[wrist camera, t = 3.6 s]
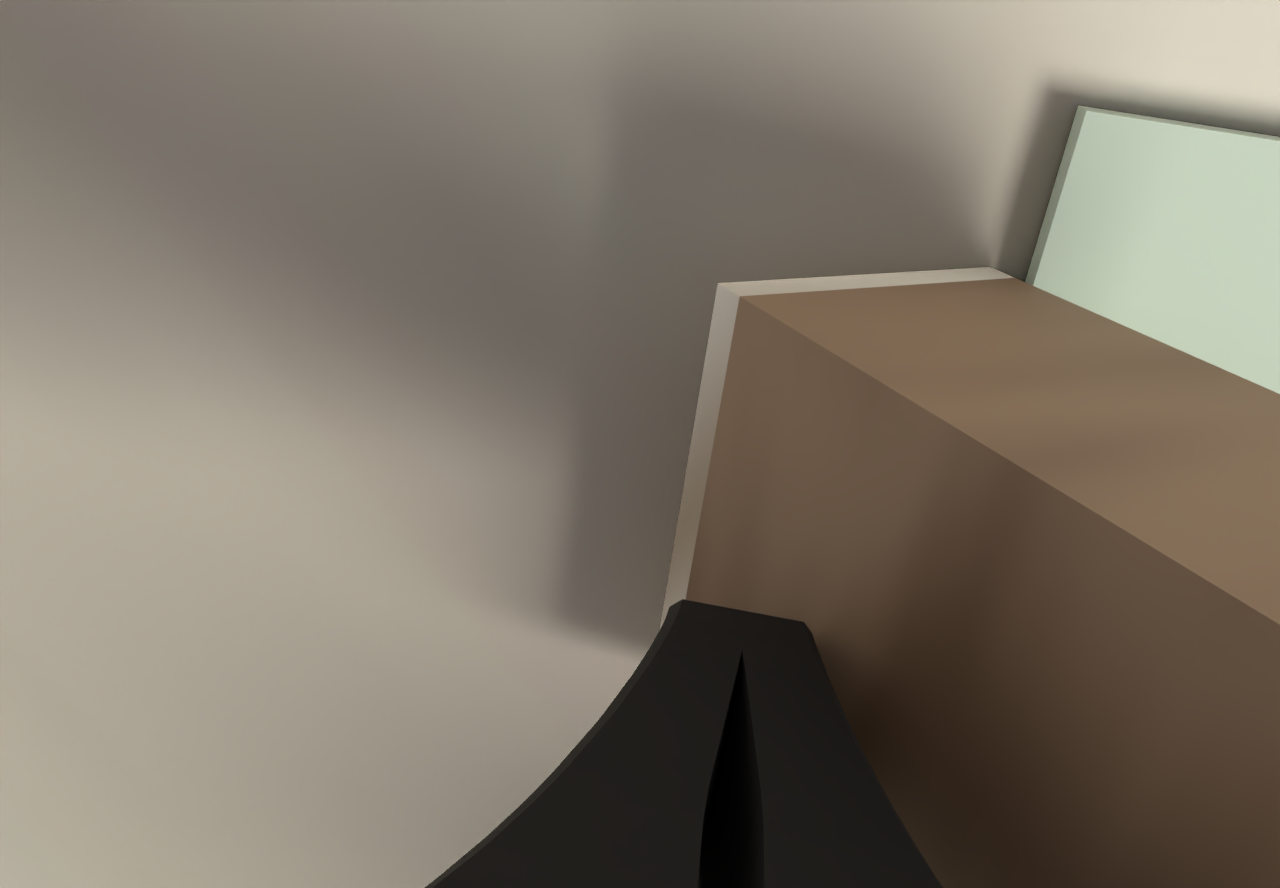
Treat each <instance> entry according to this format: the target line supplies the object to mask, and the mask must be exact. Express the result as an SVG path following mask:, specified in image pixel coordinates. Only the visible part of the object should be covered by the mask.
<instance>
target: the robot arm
mask: <svg viewBox="0 0 1280 888" xmlns="http://www.w3.org/2000/svg"><path fill="white" fill-rule="evenodd" d="M425 888H943V887H942V885H941V884H940V882H939V881H938V879H937V878H936V876H935V875H934V873H933V871H932V870H931V868H930V867H929V865H928V864H927V862H926V861H925V859H924V857H923V856H922V854H921V853H920V851H919V850H918V848H917V846H916V845H915V843H914V841H913V840H912V838H911V836H910V835H909V833H908V831H907V830H906V828H905V826H904V825H903V823H902V821H901V820H900V818H899V816H898V815H897V813H896V811H895V810H894V808H893V806H892V804H891V802H890V801H889V799H888V797H887V795H886V794H885V792H884V790H883V788H882V786H881V785H880V783H879V781H878V779H877V777H876V775H875V773H874V771H873V769H872V767H871V765H870V763H869V762H868V760H867V758H866V756H865V754H864V752H863V750H862V748H861V746H860V744H859V742H858V740H857V738H856V736H855V734H854V732H853V730H852V728H851V726H850V724H849V722H848V720H847V718H846V716H845V713H844V711H843V709H842V707H841V704H840V702H839V700H838V698H837V696H836V693H835V691H834V689H833V687H832V684H831V682H830V679H829V677H828V675H827V672H826V670H825V667H824V665H823V662H822V660H821V657H820V654H819V651H818V649H817V646H816V643H815V640H814V637H813V634H812V633H811V631H810V630H809V628H808V627H807V625H806V624H805V623H804V622H802V621H797V620H791V619H786V618H781V617H775V616H770V615H765V614H759V613H754V612H749V611H743V610H738V609H732V608H727V607H722V606H716V605H711V604H706V603H700V602H695V601H690V600H684V599H682V600H680V601H678V602H677V603H675V604H673V605H671V606H670V607H669V609H668V612H667V615H666V618H665V620H664V623H663V625H662V627H661V629H660V631H659V633H658V635H657V637H656V638H655V640H654V642H653V644H652V645H651V647H650V649H649V650H648V652H647V653H646V655H645V657H644V658H643V660H642V661H641V663H640V664H639V666H638V667H637V669H636V670H635V672H634V673H633V675H632V676H631V678H630V679H629V680H628V682H627V683H626V684H625V686H624V687H623V688H622V690H621V691H620V692H619V694H618V695H617V696H616V698H615V699H614V700H613V702H612V703H611V704H610V706H609V707H608V709H607V710H606V711H605V713H604V714H603V715H602V716H601V718H600V719H599V720H598V721H597V723H596V724H595V725H594V726H593V727H592V729H591V730H590V731H589V732H588V733H587V734H586V735H585V737H584V738H583V739H582V740H581V741H580V742H579V743H578V744H577V746H576V747H575V748H574V749H573V750H572V751H571V752H570V754H569V755H568V756H567V757H566V758H565V759H564V760H563V762H562V763H561V764H560V765H559V766H558V767H557V768H556V770H555V771H554V772H553V773H552V774H551V775H550V776H549V777H548V778H547V779H546V780H545V781H544V782H543V783H542V784H541V785H540V786H539V787H538V788H537V789H536V790H535V791H534V792H533V793H532V794H531V795H530V796H529V797H528V798H527V799H526V800H525V801H524V802H523V803H522V804H521V805H520V806H519V807H518V808H517V809H516V810H515V811H514V812H513V813H512V814H511V815H510V816H509V817H507V818H506V819H505V820H504V821H503V822H502V823H501V824H500V825H499V826H498V827H497V828H496V829H495V830H493V831H492V832H491V833H490V834H489V835H488V836H487V837H486V838H485V839H483V840H482V841H481V842H480V843H479V844H477V845H476V846H475V847H474V848H473V849H471V850H470V851H469V852H468V853H467V854H465V855H464V856H463V857H462V858H461V859H459V860H458V861H457V862H456V863H455V864H453V865H452V866H451V867H450V868H449V869H447V870H446V871H445V872H444V873H443V874H441V875H440V876H439V877H438V878H437V879H435V880H434V881H433V882H432V883H430V884H429V885H428V886H426V887H425Z"/></svg>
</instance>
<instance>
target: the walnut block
mask: <svg viewBox="0 0 1280 888" xmlns="http://www.w3.org/2000/svg"><path fill="white" fill-rule="evenodd" d="M682 599H684V600H690V601H695V602H700V603H706V604H711V605H716V606H722V607H727V608H732V609H738V610H743V611H749V612H754V613H759V614H765V615H770V616H775V617H781V618H786V619H791V620H797V621H802V622H804V623H805V624H806V625H807V627H808V628H809V630H810V631H811V633H812V634H813V637H814V640H815V643H816V646H817V649H818V651H819V654H820V657H821V660H822V662H823V665H824V667H825V670H826V672H827V675H828V677H829V679H830V682H831V684H832V687H833V689H834V691H835V693H836V696H837V698H838V700H839V702H840V704H841V707H842V709H843V711H844V713H845V716H846V718H847V720H848V722H849V724H850V726H851V728H852V730H853V732H854V734H855V736H856V738H857V740H858V742H859V744H860V746H861V748H862V750H863V752H864V754H865V756H866V758H867V760H868V762H869V763H870V765H871V767H872V769H873V771H874V773H875V775H876V777H877V779H878V781H879V783H880V785H881V786H882V788H883V790H884V792H885V794H886V795H887V797H888V799H889V801H890V802H891V804H892V806H893V808H894V810H895V811H896V813H897V815H898V816H899V818H900V820H901V821H902V823H903V825H904V826H905V828H906V830H907V831H908V833H909V835H910V836H911V838H912V840H913V841H914V843H915V845H916V846H917V848H918V850H919V851H920V853H921V854H922V856H923V857H924V859H925V861H926V862H927V864H928V865H929V867H930V868H931V870H932V871H933V873H934V875H935V876H936V878H937V879H938V881H939V882H940V884H941V885H942V887H943V888H1280V394H1279V393H1276V392H1274V391H1272V390H1269V389H1267V388H1265V387H1263V386H1260V385H1258V384H1256V383H1253V382H1251V381H1249V380H1247V379H1244V378H1242V377H1240V376H1238V375H1235V374H1233V373H1231V372H1228V371H1226V370H1224V369H1222V368H1219V367H1217V366H1215V365H1212V364H1210V363H1208V362H1206V361H1203V360H1201V359H1199V358H1197V357H1194V356H1192V355H1190V354H1187V353H1185V352H1183V351H1181V350H1178V349H1176V348H1174V347H1171V346H1169V345H1167V344H1165V343H1162V342H1160V341H1158V340H1156V339H1153V338H1151V337H1149V336H1146V335H1144V334H1142V333H1140V332H1137V331H1135V330H1133V329H1130V328H1128V327H1126V326H1124V325H1121V324H1119V323H1117V322H1115V321H1112V320H1110V319H1108V318H1105V317H1103V316H1101V315H1099V314H1096V313H1094V312H1092V311H1089V310H1087V309H1085V308H1083V307H1080V306H1078V305H1076V304H1074V303H1071V302H1069V301H1067V300H1064V299H1062V298H1060V297H1058V296H1055V295H1053V294H1051V293H1048V292H1046V291H1044V290H1042V289H1039V288H1037V287H1035V286H1033V285H1030V284H1028V283H1026V282H1023V281H1021V280H1019V279H1017V278H1014V277H1012V276H1010V275H1007V274H1005V273H1003V272H1001V271H998V270H996V269H994V268H992V267H980V268H964V269H947V270H930V271H913V272H896V273H879V274H862V275H845V276H828V277H811V278H794V279H778V280H761V281H744V282H727V283H718V285H717V290H716V296H715V302H714V308H713V314H712V320H711V326H710V332H709V338H708V344H707V350H706V356H705V362H704V368H703V373H702V379H701V385H700V391H699V397H698V403H697V409H696V415H695V421H694V427H693V433H692V439H691V445H690V451H689V457H688V462H687V468H686V474H685V480H684V486H683V492H682V498H681V504H680V510H679V516H678V522H677V528H676V534H675V540H674V546H673V551H672V557H671V563H670V569H669V575H668V581H667V587H666V593H665V599H664V605H663V611H662V617H661V623H660V629H661V627H662V625H663V623H664V620H665V618H666V615H667V612H668V609H669V607H670V606H671V605H673V604H675V603H677V602H678V601H680V600H682ZM660 629H659V631H660Z"/></svg>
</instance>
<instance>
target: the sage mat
mask: <svg viewBox="0 0 1280 888" xmlns="http://www.w3.org/2000/svg"><path fill="white" fill-rule="evenodd" d="M1025 282H1026V283H1028V284H1030V285H1033V286H1035V287H1037V288H1039V289H1042V290H1044V291H1046V292H1048V293H1051V294H1053V295H1055V296H1058V297H1060V298H1062V299H1064V300H1067V301H1069V302H1071V303H1074V304H1076V305H1078V306H1080V307H1083V308H1085V309H1087V310H1089V311H1092V312H1094V313H1096V314H1099V315H1101V316H1103V317H1105V318H1108V319H1110V320H1112V321H1115V322H1117V323H1119V324H1121V325H1124V326H1126V327H1128V328H1130V329H1133V330H1135V331H1137V332H1140V333H1142V334H1144V335H1146V336H1149V337H1151V338H1153V339H1156V340H1158V341H1160V342H1162V343H1165V344H1167V345H1169V346H1171V347H1174V348H1176V349H1178V350H1181V351H1183V352H1185V353H1187V354H1190V355H1192V356H1194V357H1197V358H1199V359H1201V360H1203V361H1206V362H1208V363H1210V364H1212V365H1215V366H1217V367H1219V368H1222V369H1224V370H1226V371H1228V372H1231V373H1233V374H1235V375H1238V376H1240V377H1242V378H1244V379H1247V380H1249V381H1251V382H1253V383H1256V384H1258V385H1260V386H1263V387H1265V388H1267V389H1269V390H1272V391H1274V392H1276V393H1279V394H1280V137H1277V136H1271V135H1264V134H1258V133H1252V132H1245V131H1239V130H1233V129H1226V128H1220V127H1213V126H1207V125H1201V124H1194V123H1188V122H1181V121H1175V120H1169V119H1162V118H1156V117H1150V116H1143V115H1137V114H1130V113H1124V112H1118V111H1111V110H1105V109H1098V108H1092V107H1086V106H1079V105H1078V108H1077V111H1076V114H1075V118H1074V121H1073V124H1072V128H1071V131H1070V134H1069V138H1068V141H1067V144H1066V147H1065V151H1064V154H1063V157H1062V161H1061V164H1060V167H1059V171H1058V174H1057V177H1056V181H1055V184H1054V187H1053V191H1052V194H1051V197H1050V201H1049V204H1048V207H1047V210H1046V214H1045V217H1044V220H1043V224H1042V227H1041V230H1040V234H1039V237H1038V240H1037V244H1036V247H1035V250H1034V254H1033V257H1032V260H1031V264H1030V267H1029V270H1028V274H1027V277H1026V280H1025Z"/></svg>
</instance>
